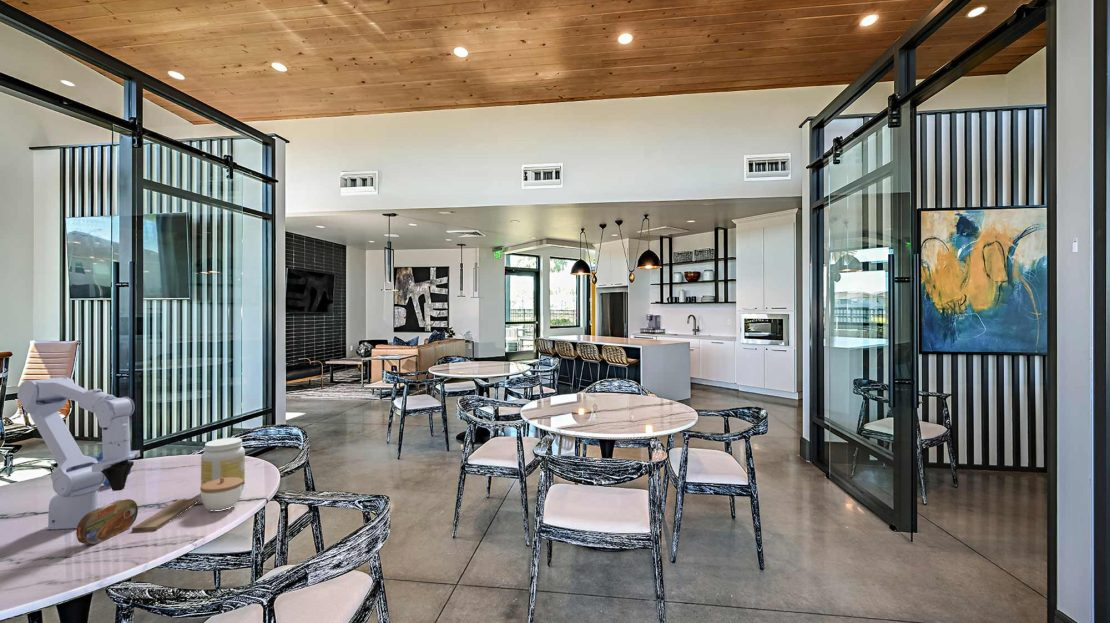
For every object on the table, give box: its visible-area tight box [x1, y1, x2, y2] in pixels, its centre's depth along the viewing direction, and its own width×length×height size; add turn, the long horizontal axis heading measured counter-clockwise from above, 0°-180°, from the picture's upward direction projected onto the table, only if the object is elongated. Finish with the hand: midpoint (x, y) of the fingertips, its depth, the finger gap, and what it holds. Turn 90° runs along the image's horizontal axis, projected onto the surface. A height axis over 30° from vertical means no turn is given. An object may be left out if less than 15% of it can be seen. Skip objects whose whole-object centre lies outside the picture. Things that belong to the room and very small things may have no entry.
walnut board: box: [131, 498, 200, 533], centre depth 139 cm, size 6×20×1 cm, turn 9°
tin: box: [75, 498, 139, 545], centre depth 126 cm, size 15×3×8 cm, turn 179°
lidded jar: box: [200, 477, 243, 511], centre depth 145 cm, size 11×11×9 cm
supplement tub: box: [200, 437, 246, 489], centre depth 159 cm, size 12×12×17 cm
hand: (118, 489), depth 132 cm, fingers closed
